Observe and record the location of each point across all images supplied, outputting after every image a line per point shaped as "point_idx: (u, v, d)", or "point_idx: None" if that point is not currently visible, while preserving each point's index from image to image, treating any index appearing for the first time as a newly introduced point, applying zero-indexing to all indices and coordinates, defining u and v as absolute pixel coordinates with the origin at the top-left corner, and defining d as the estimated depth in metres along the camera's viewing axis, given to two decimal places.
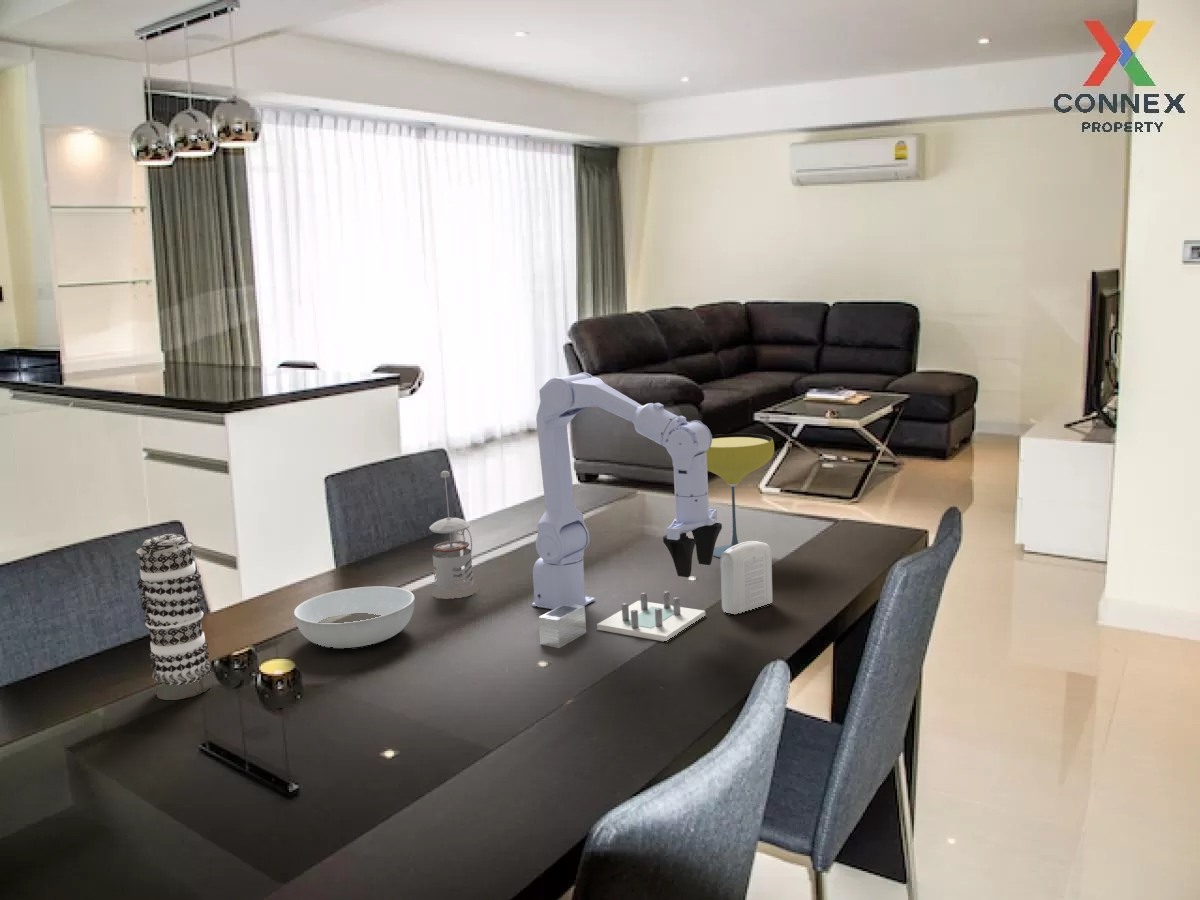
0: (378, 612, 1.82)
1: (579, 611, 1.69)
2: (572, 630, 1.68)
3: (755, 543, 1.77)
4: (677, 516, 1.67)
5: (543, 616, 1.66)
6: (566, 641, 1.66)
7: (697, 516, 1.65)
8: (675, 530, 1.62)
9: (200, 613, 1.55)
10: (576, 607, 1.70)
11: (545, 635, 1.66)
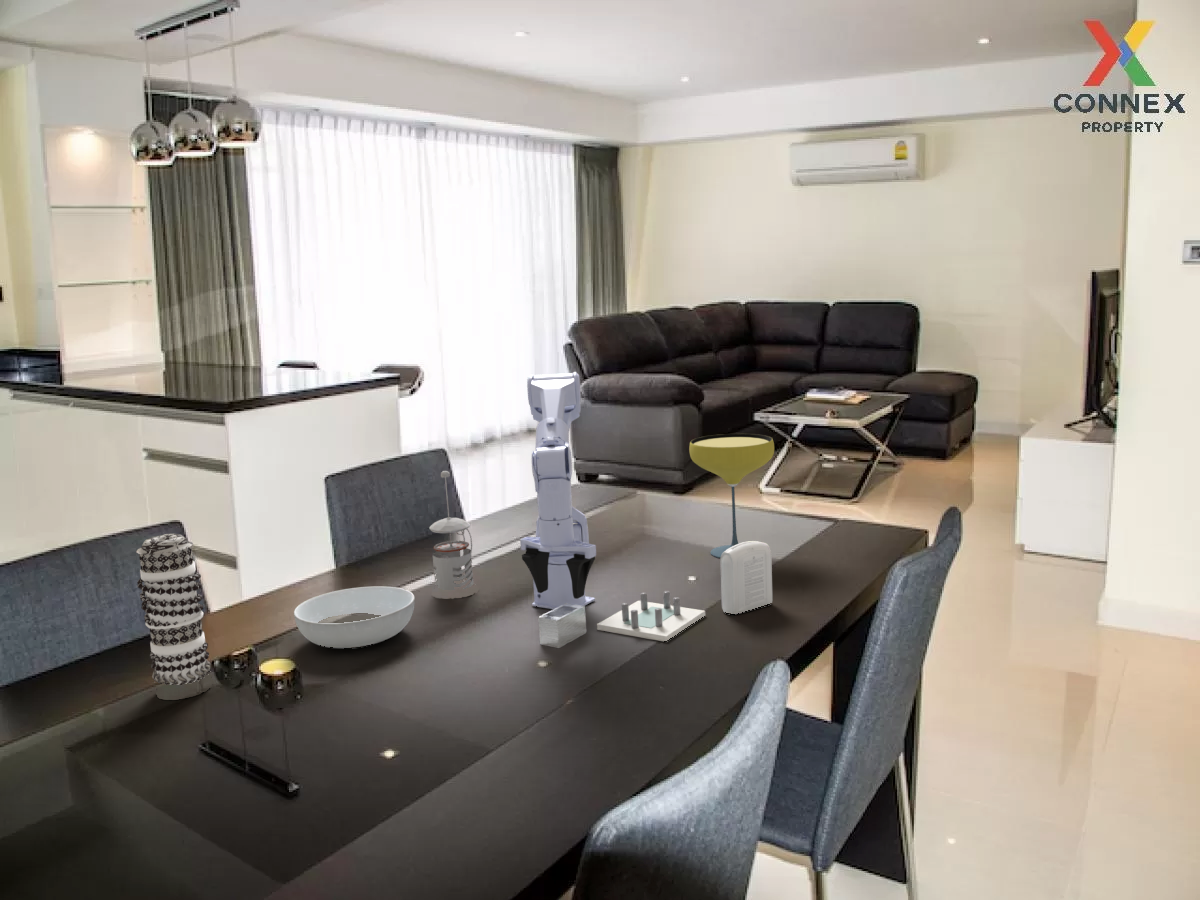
0: (378, 612, 1.82)
1: (579, 611, 1.69)
2: (571, 630, 1.68)
3: (755, 543, 1.77)
4: None
5: (543, 616, 1.66)
6: (566, 641, 1.66)
7: (540, 538, 1.66)
8: None
9: (200, 613, 1.55)
10: (576, 607, 1.70)
11: (545, 635, 1.66)
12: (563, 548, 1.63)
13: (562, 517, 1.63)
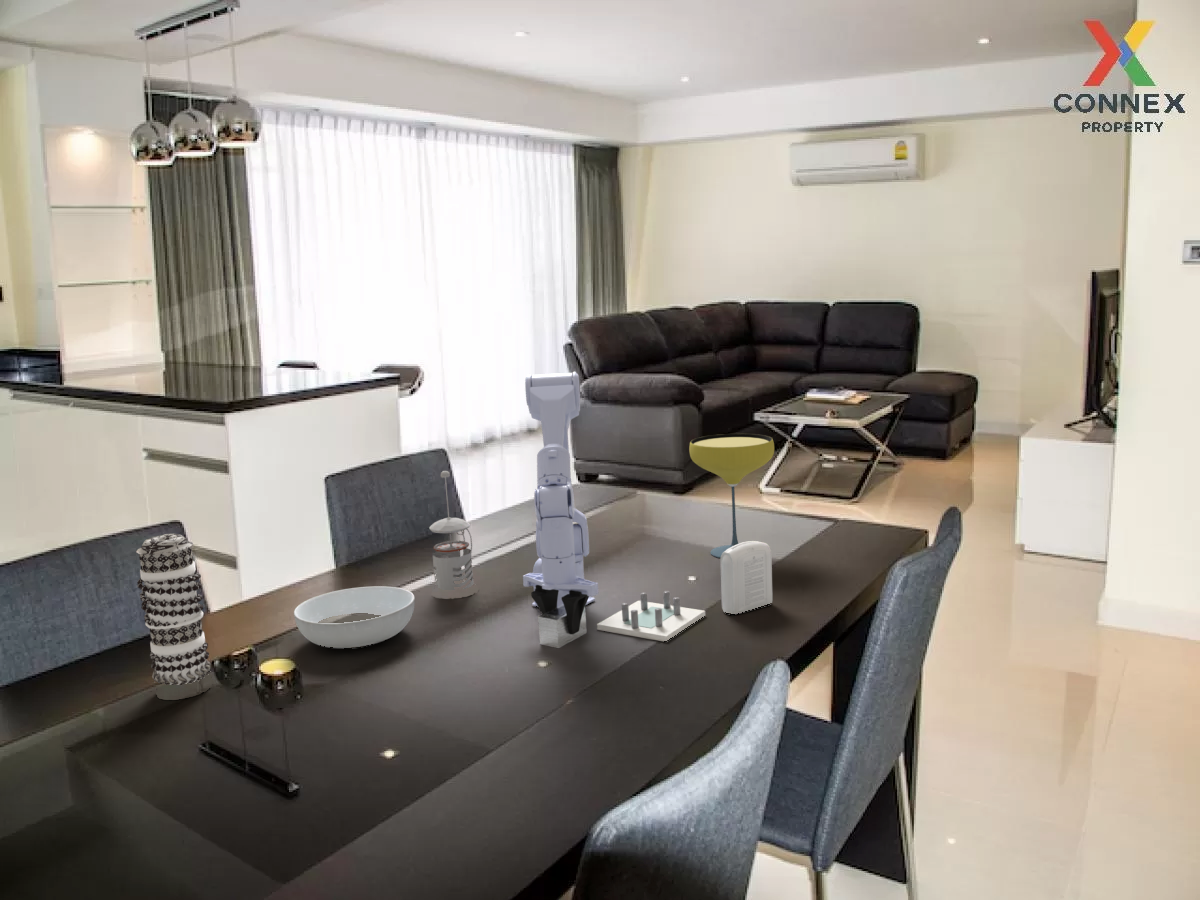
0: (378, 612, 1.82)
1: None
2: None
3: (755, 543, 1.77)
4: None
5: (543, 616, 1.66)
6: (566, 641, 1.66)
7: (542, 575, 1.67)
8: None
9: (200, 613, 1.55)
10: None
11: (545, 635, 1.66)
12: (565, 586, 1.64)
13: (564, 555, 1.64)
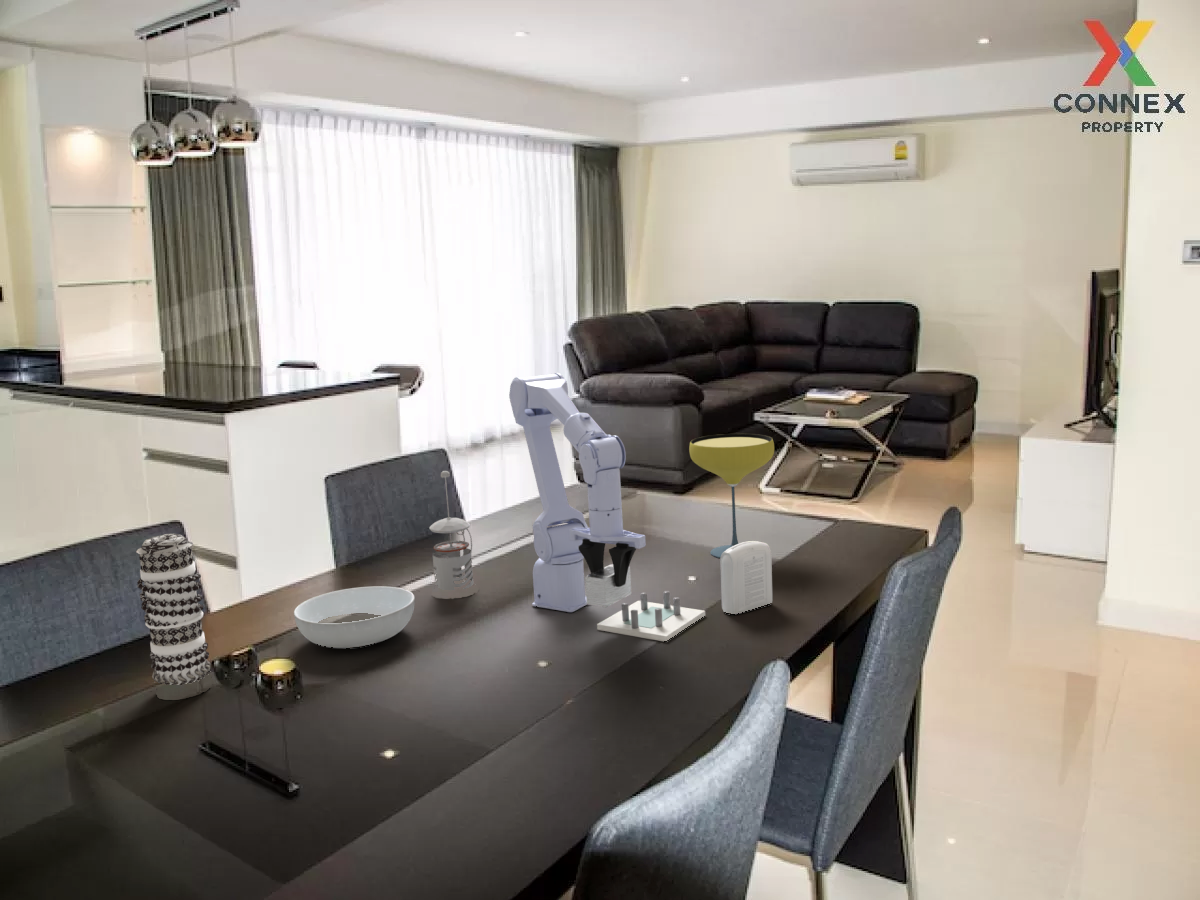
0: (378, 612, 1.82)
1: None
2: (618, 590, 1.69)
3: (755, 543, 1.77)
4: None
5: (590, 575, 1.68)
6: (612, 600, 1.68)
7: (590, 528, 1.68)
8: (570, 530, 1.72)
9: (200, 613, 1.55)
10: None
11: (592, 594, 1.67)
12: (613, 538, 1.66)
13: (619, 506, 1.66)
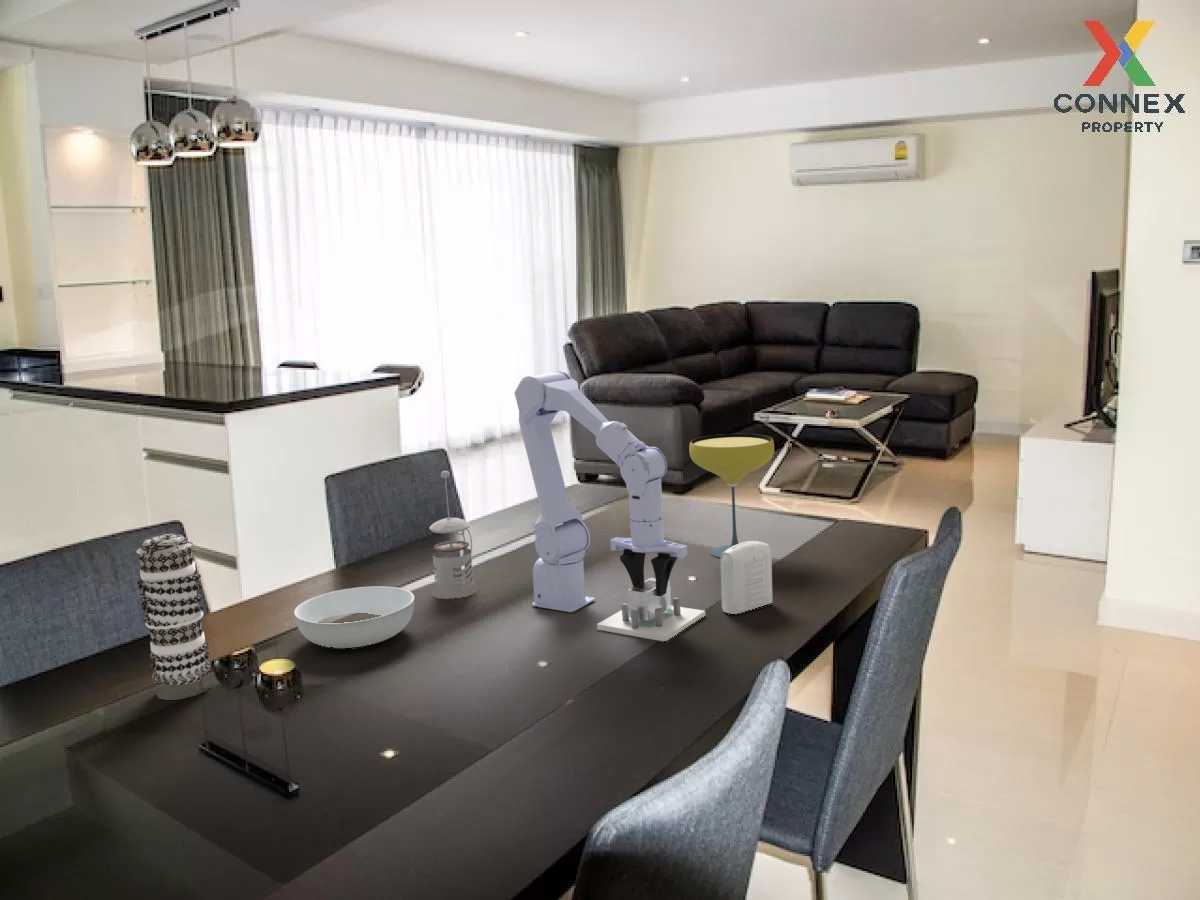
0: (378, 612, 1.82)
1: None
2: (659, 604, 1.72)
3: (755, 543, 1.77)
4: None
5: (632, 589, 1.71)
6: (654, 614, 1.71)
7: (631, 539, 1.71)
8: None
9: (200, 613, 1.55)
10: None
11: (634, 608, 1.70)
12: (655, 548, 1.68)
13: (662, 515, 1.70)
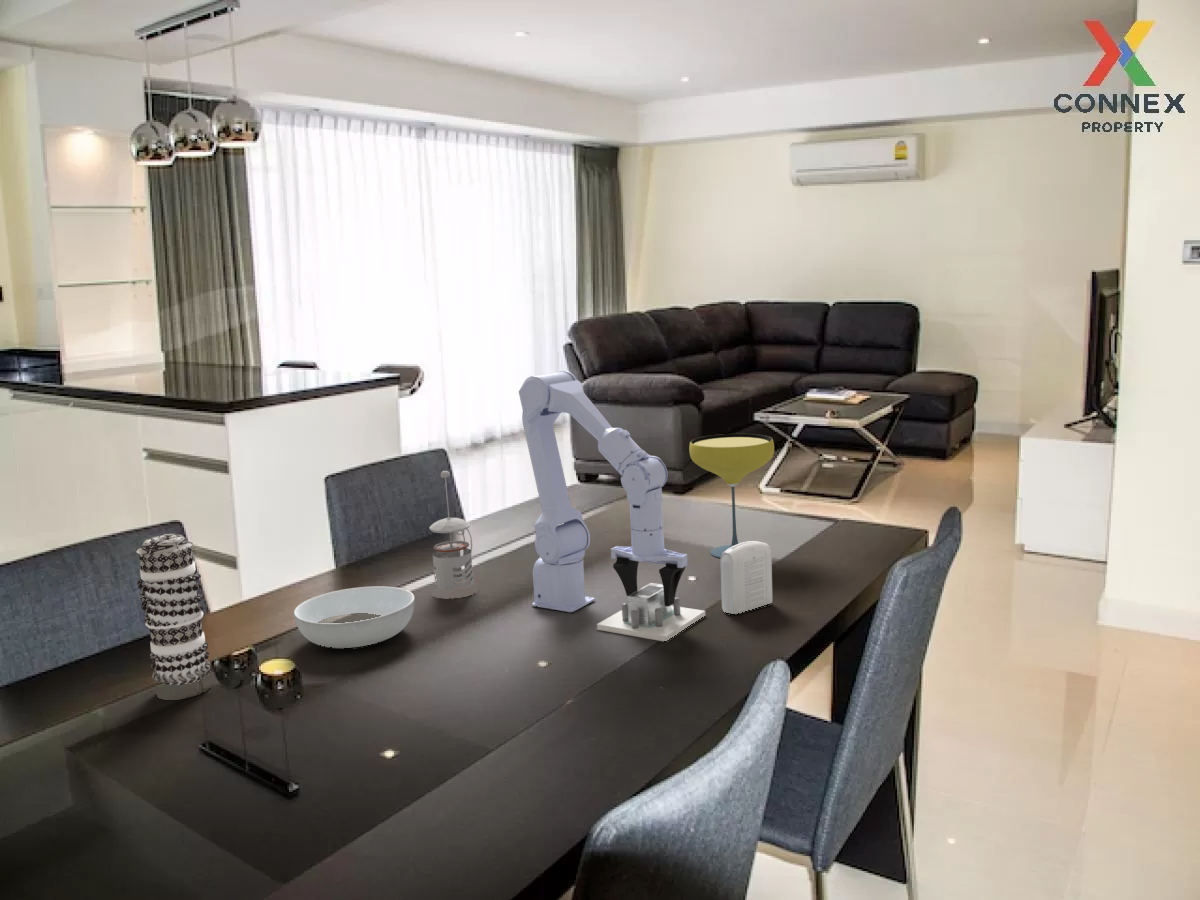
0: (378, 612, 1.82)
1: None
2: None
3: (755, 543, 1.77)
4: None
5: (632, 595, 1.71)
6: (654, 619, 1.71)
7: (632, 548, 1.71)
8: (611, 549, 1.75)
9: (200, 613, 1.55)
10: (662, 587, 1.74)
11: None
12: (656, 558, 1.69)
13: None
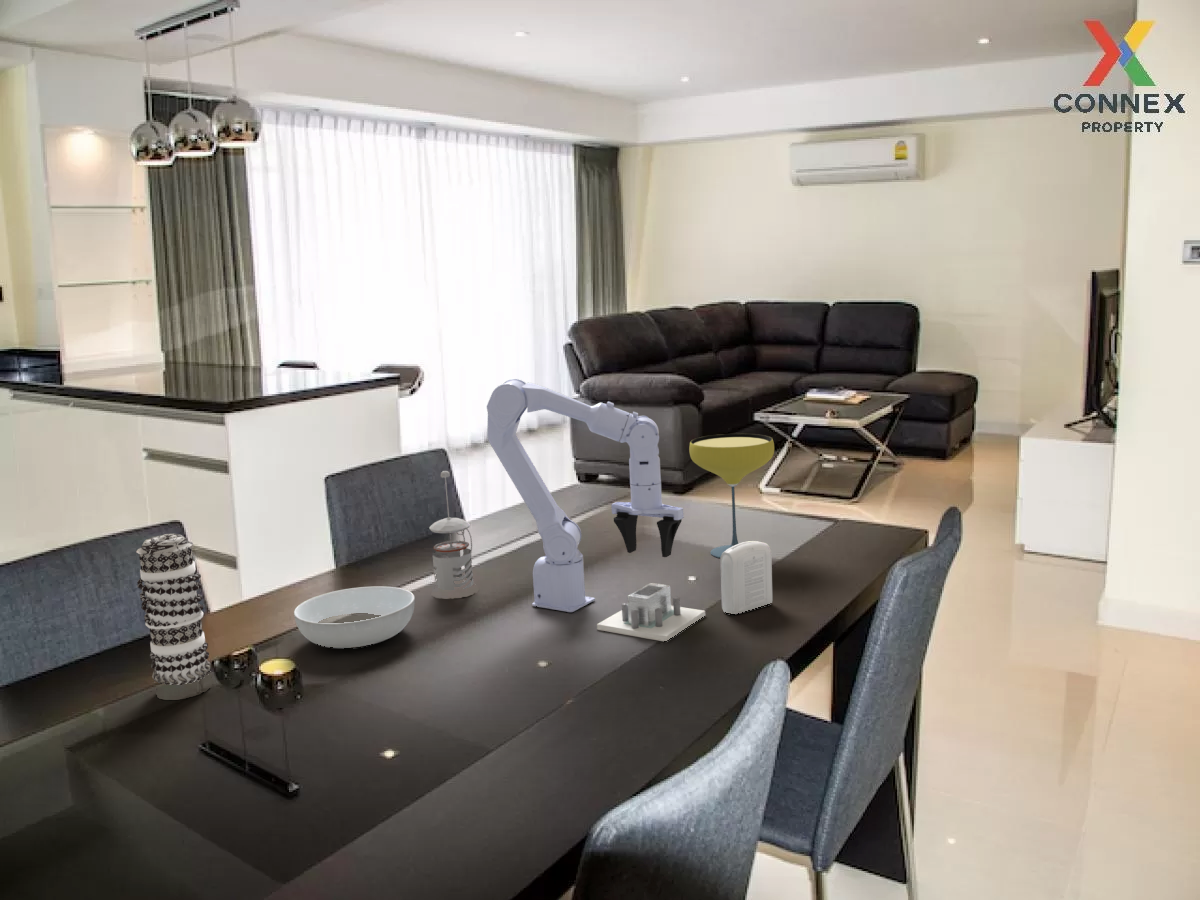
0: (378, 612, 1.82)
1: (665, 590, 1.74)
2: None
3: (755, 543, 1.77)
4: None
5: (632, 595, 1.71)
6: (654, 619, 1.71)
7: (631, 502, 1.82)
8: None
9: (200, 613, 1.55)
10: (662, 587, 1.74)
11: None
12: (654, 511, 1.79)
13: None
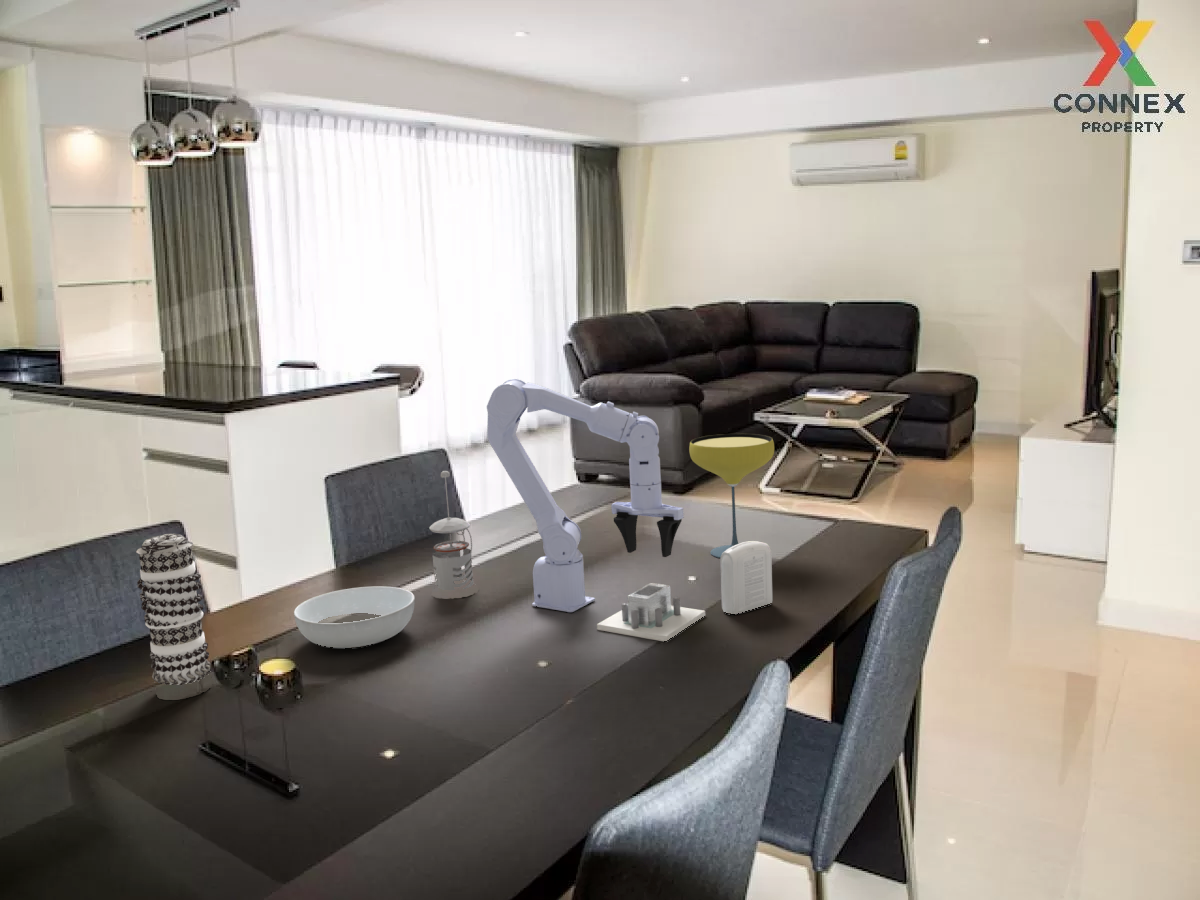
0: (378, 612, 1.82)
1: (665, 590, 1.74)
2: None
3: (755, 543, 1.77)
4: None
5: (632, 595, 1.71)
6: (654, 619, 1.71)
7: (631, 502, 1.82)
8: None
9: (200, 613, 1.55)
10: (662, 587, 1.74)
11: None
12: (654, 511, 1.79)
13: None
